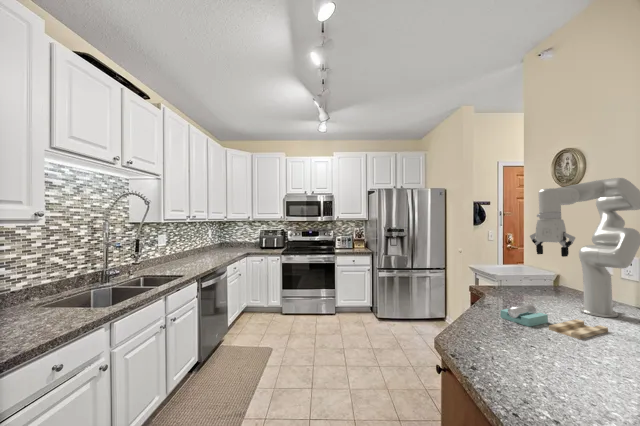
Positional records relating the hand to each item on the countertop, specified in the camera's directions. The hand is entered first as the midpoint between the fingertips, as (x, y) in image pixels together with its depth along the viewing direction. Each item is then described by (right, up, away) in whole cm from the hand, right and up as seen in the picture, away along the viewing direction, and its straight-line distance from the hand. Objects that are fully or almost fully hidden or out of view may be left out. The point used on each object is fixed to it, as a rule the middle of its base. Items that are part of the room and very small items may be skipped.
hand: (551, 255), depth 124 cm
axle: (-15, -26, -2) cm, 30 cm away
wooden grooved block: (-2, -28, -15) cm, 32 cm away
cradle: (-14, -29, -2) cm, 32 cm away
